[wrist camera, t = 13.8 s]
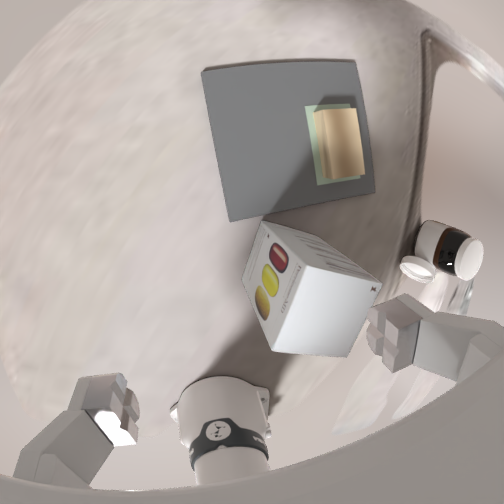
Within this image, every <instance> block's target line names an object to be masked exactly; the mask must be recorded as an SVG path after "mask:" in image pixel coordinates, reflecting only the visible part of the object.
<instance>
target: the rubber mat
mask: <svg viewBox="0 0 504 504" xmlns="http://www.w3.org/2000/svg"><path fill="white" fill-rule="evenodd" d="M201 77H202V82H203V88H204V93H205V99H206V104H207V109H208V115H209V120H210V125H211V131H212V136H213V141H214V146H215V151H216V157H217V162H218V167H219V172H220V177H221V182H222V187H223V192H224V197H225V202H226V207H227V212H228V217H229V221H230V222H234V221H238V220H243V219H247V218H252V217H256V216H261V215H265V214H270V213H275V212H279V211H284V210H289V209H294V208H298V207H303V206H308V205H313V204H318V203H323V202H328V201H333V200H338V199H343V198H348V197H354V196H359V195H364V194H370V193H375V185H374V174H373V164H372V156H371V147H370V140H369V133H368V126H367V120H366V114H365V108H364V102H363V97H362V91H361V86H360V81H359V77H358V72H357V68H356V63H353V62H283V63H267V64H256V65H246V66H237V67H229V68H222V69H215V70H209V71H203V72H201ZM348 108H356V112H357V118H358V124H359V130H360V137H361V144H362V152H363V160H364V169H365V174H363V175H357V176H350V177H344V178H338V179H329V178H324V177H323V174H322V167H321V160H320V153H319V146H318V140H317V134H316V128H315V122H314V116H313V113H314V112H317V111H320V110H328V109H348Z"/></svg>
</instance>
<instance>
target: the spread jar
mask: <svg viewBox="0 0 504 504" xmlns="http://www.w3.org/2000/svg"><path fill="white" fill-rule="evenodd" d="M414 253H415V255H416V257H415V256H405V257H403V259H402V261H401V264H400V269H401V271H402V272H403V273H404V274H406V275H407V276H408V277H410V278H412V279H414V280H416V281H419V282H423V283H431V282H433V281H434V278H435V275H436V269H435V268H437V269H439V270H440V271H442V272H445V273H447V274H449V275H453V276H458V277H460V278H461V279H463V280H470V279H472V278H473V277H474V276H475V275H476V273H477V272H478V270H479V268H480V266H481V263H482V260H483V245H482V243H481V241H479V240H477V239H475V238H472V237H471V236H470V235H469V234H467V233H466V232H464V231H461V230H459V229H456V228H454V227H451V226H448V225H445V224H442V223H440V222H437V221H432V220H427V221H425V222H424V223H423V224H422V225H421V226H420V228H419V230H418V232H417V235H416V238H415V243H414ZM434 267H435V268H434Z"/></svg>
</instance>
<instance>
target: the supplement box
mask: <svg viewBox="0 0 504 504" xmlns="http://www.w3.org/2000/svg"><path fill="white" fill-rule="evenodd" d="M242 282H243V285H244V287H245V289H246V292H247V294H248V296H249V299H250V301H251V304H252V306H253V308H254V311H255V313H256V315H257V318H258V320H259V322H260V325H261V327H262V329H263V332H264V334H265V336H266V339H267V341H268V343H269V346H270V348H271V350H272V351H275V352H283V353H292V354H304V355H316V356H328V357H347V356H348V354H349V353H350V351H351V348H352V347H353V345H354V342H355V340H356V339H357V336H358V334H359V332H360V330H361V328H362V326H363V324H364V322H365V320H366V318H367V312H368V309H369V308H371V307H372V306H373V304H374V302H375V300H376V298H377V295H378V293H379V291H380V290H381V288H382V285H383V283H382V282H380V281H379V280H378V279H376V278H375V277H374V276H372V275H371V274H369V273H368V272H367V271H365V270H364V269H363V268H361V267H360V266H359V265H357V264H356V263H354V262H353V261H352V260H350V259H349V258H347V257H346V256H345V255H343V254H342V253H340V252H339V251H338V250H336V249H335V248H333V247H332V246H330V245H329V244H328V243H326V242H325V241H323V240H322V239H320V238H319V237H318V236H315V235H312V234H309V233H306V232H303V231H299V230H296V229H293V228H289V227H286V226H282V225H279V224H275V223H271V222H267V221H263V220H262V221H261V223H260V226H259V229H258V232H257V235H256V238H255V241H254V244H253V247H252V250H251V253H250V256H249V259H248V262H247V265H246V268H245V271H244V274H243V277H242Z"/></svg>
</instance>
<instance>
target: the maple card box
mask: <svg viewBox="0 0 504 504" xmlns="http://www.w3.org/2000/svg"><path fill="white" fill-rule="evenodd" d="M313 116H314V122H315V128H316V134H317V140H318V146H319V153H320V160H321V167H322V174H323V177H324V178H329V179H338V178H344V177H350V176H357V175H363V174H365V169H364V160H363V152H362V144H361V137H360V130H359V124H358V118H357V112H356V108H348V109H328V110H320V111H317V112H314V113H313Z"/></svg>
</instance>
